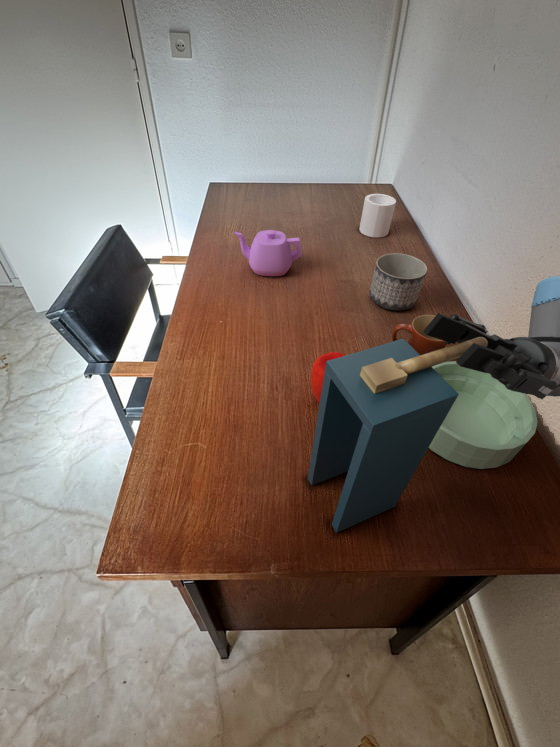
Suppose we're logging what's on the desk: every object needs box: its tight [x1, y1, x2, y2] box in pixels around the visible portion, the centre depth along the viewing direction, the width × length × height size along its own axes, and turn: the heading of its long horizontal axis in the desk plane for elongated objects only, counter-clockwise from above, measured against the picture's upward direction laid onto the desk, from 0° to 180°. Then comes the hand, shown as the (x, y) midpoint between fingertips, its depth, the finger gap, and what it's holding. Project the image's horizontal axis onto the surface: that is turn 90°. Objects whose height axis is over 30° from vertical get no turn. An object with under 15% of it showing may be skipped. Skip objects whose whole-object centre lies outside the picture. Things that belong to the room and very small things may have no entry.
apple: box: [310, 351, 347, 404], centre depth 72 cm, size 9×9×11 cm
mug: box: [391, 314, 448, 355], centre depth 80 cm, size 12×9×10 cm
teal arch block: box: [307, 338, 459, 533], centre depth 52 cm, size 10×11×28 cm
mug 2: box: [358, 193, 397, 238], centre depth 127 cm, size 14×10×11 cm
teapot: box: [232, 229, 304, 277], centre depth 107 cm, size 13×20×11 cm
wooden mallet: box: [360, 337, 488, 394], centre depth 43 cm, size 17×3×2 cm, turn 113°
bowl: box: [428, 360, 539, 470], centre depth 70 cm, size 21×21×7 cm
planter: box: [368, 252, 428, 311], centre depth 97 cm, size 13×13×10 cm
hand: (449, 338), depth 41 cm, fingers open, 5 cm apart
